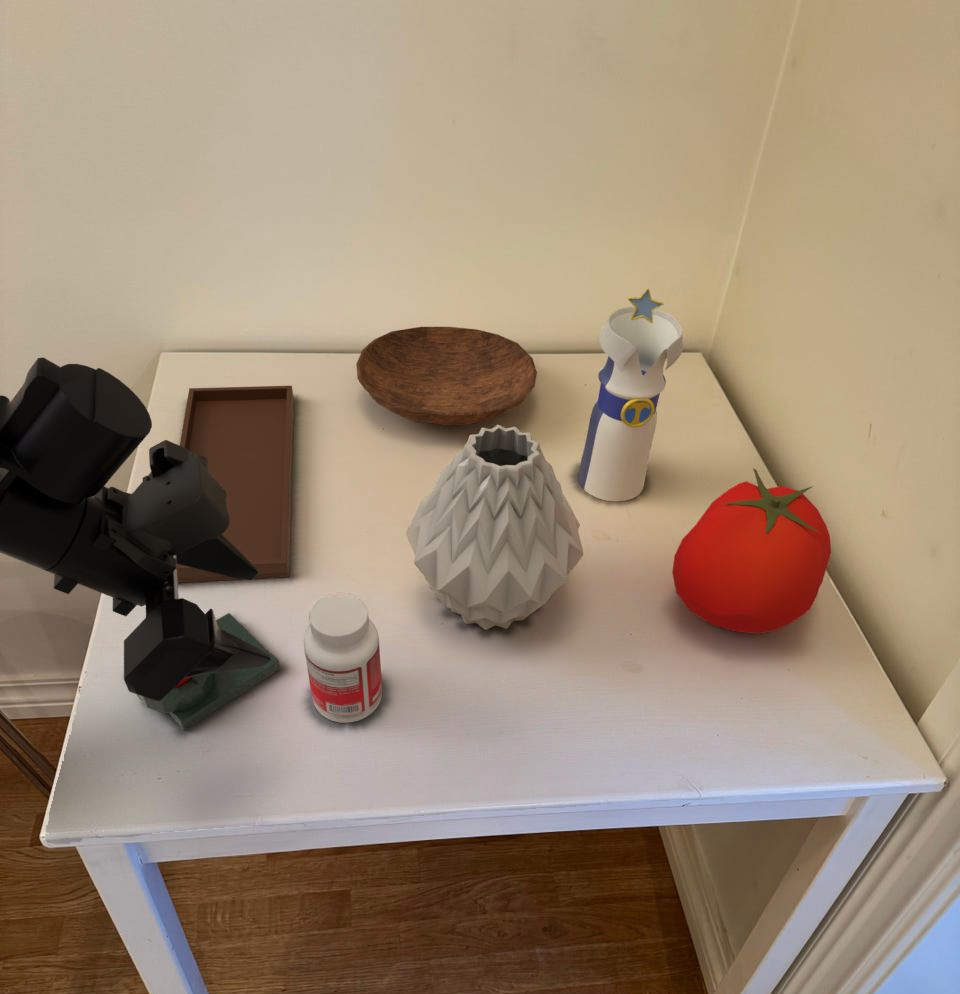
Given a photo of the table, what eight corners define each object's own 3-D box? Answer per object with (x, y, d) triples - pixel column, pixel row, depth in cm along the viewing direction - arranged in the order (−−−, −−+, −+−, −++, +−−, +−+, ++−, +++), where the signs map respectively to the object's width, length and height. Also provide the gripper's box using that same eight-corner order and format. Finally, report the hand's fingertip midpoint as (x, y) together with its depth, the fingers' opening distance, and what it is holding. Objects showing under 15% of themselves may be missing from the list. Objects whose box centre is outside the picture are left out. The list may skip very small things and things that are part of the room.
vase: (387, 563, 88) (381, 409, 74) (533, 530, 92) (552, 379, 78) (439, 681, 78) (443, 529, 64) (600, 638, 82) (635, 487, 69)
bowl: (536, 453, 101) (540, 418, 98) (350, 445, 101) (347, 409, 97) (530, 363, 115) (534, 329, 111) (365, 355, 114) (363, 320, 110)
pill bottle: (357, 659, 79) (350, 575, 71) (396, 702, 76) (393, 619, 68) (299, 692, 76) (284, 607, 68) (336, 737, 73) (326, 655, 65)
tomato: (756, 548, 92) (798, 444, 82) (835, 640, 84) (892, 536, 74) (628, 580, 88) (656, 474, 78) (697, 681, 79) (738, 576, 69)
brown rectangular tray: (289, 576, 86) (287, 562, 84) (163, 583, 84) (158, 569, 83) (293, 399, 106) (291, 385, 105) (192, 402, 105) (189, 388, 103)
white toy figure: (658, 501, 97) (715, 289, 78) (585, 505, 95) (625, 292, 77) (638, 456, 102) (687, 248, 83) (569, 460, 101) (602, 250, 82)
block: (170, 739, 72) (162, 718, 70) (122, 683, 76) (113, 662, 74) (281, 669, 78) (276, 648, 76) (231, 620, 81) (225, 599, 79)
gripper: (134, 549, 46) (349, 645, 57) (132, 365, 58) (310, 473, 69) (28, 666, 51) (247, 735, 61) (46, 472, 62) (227, 558, 73)
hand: (260, 616), depth 66 cm, fingers open, 9 cm apart
